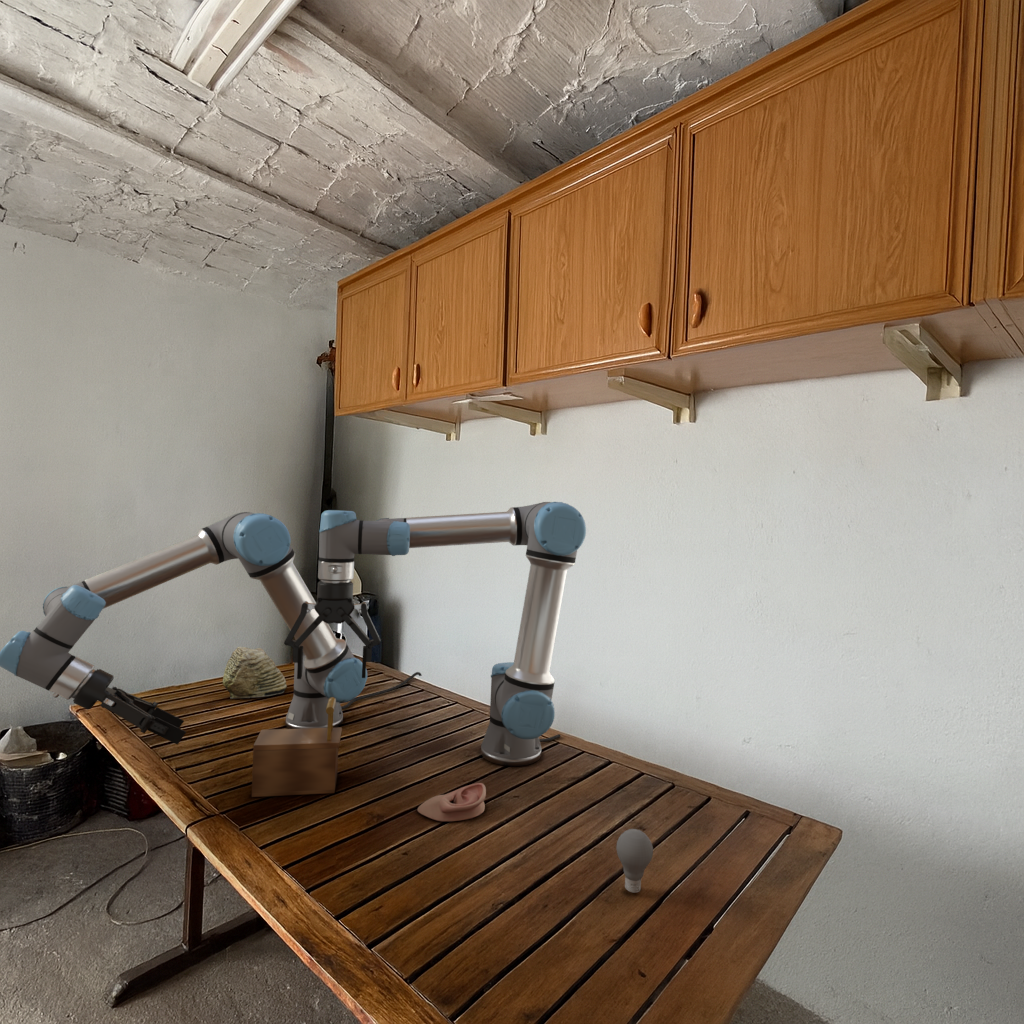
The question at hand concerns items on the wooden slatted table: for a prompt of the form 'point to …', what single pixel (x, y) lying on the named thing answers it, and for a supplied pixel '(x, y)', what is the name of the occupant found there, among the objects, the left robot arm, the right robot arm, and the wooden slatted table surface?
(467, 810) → the anatomical model
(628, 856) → the light bulb
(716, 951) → the wooden slatted table surface
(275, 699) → the wooden slatted table surface
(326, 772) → the chest
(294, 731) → the lid
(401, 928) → the wooden slatted table surface
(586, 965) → the wooden slatted table surface
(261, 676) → the fossil
